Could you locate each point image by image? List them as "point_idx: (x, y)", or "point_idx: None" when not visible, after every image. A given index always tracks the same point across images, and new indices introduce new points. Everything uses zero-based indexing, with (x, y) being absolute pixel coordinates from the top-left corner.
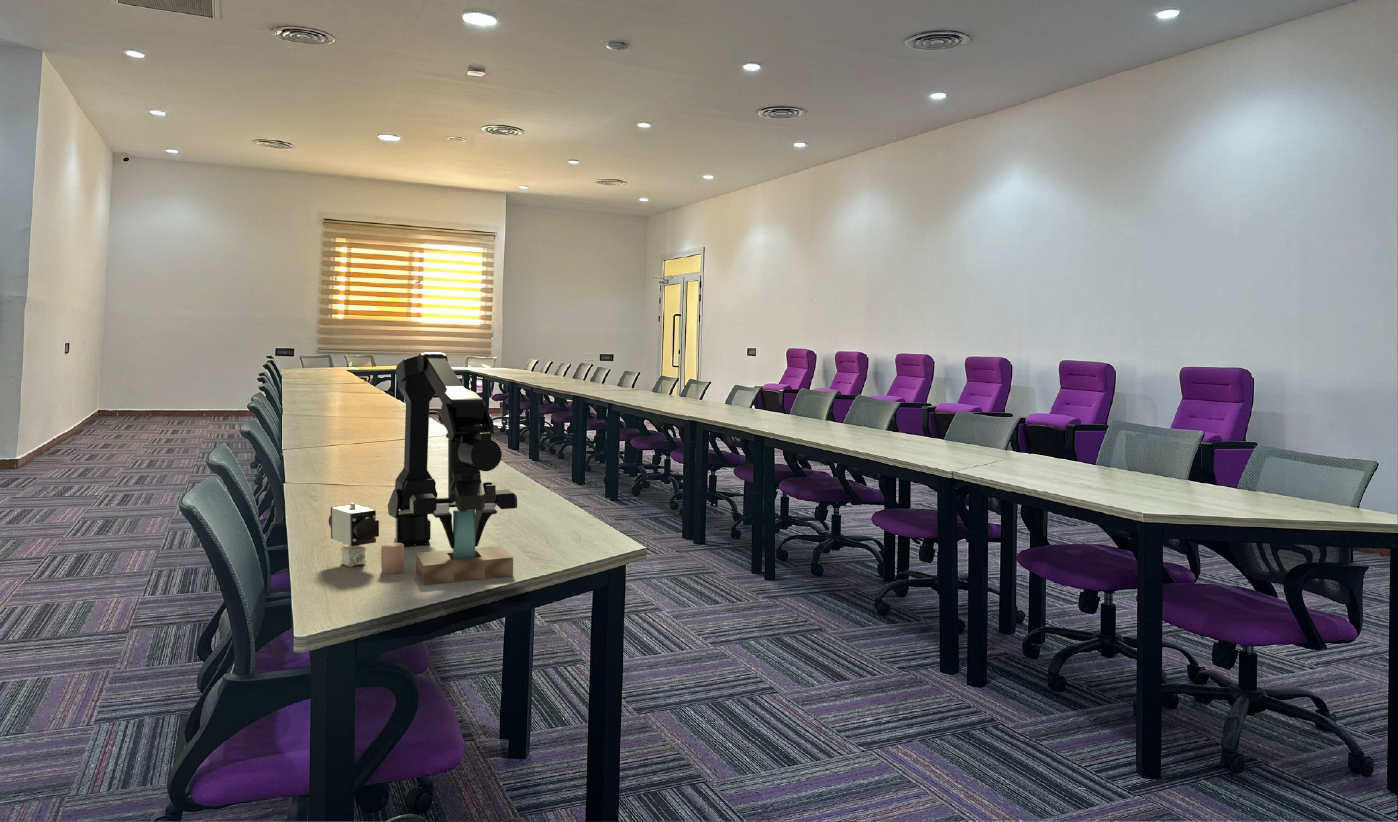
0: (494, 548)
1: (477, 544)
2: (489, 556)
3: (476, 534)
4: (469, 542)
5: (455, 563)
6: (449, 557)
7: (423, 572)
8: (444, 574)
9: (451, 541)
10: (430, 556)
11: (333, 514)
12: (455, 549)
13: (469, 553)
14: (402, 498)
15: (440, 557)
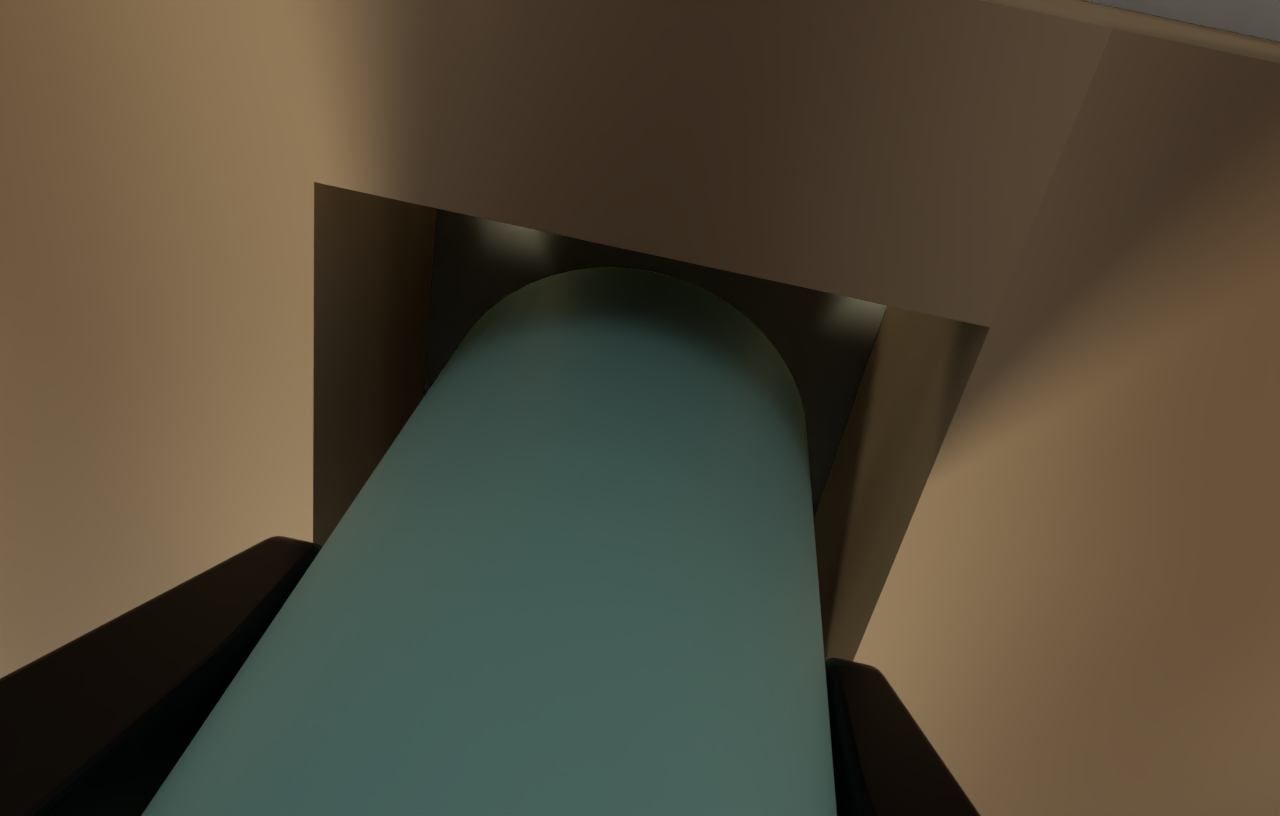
0: (5, 620)
1: (259, 554)
2: (149, 149)
3: (126, 763)
4: (472, 529)
5: (1063, 15)
6: (917, 523)
7: None
8: (1224, 38)
9: (924, 798)
10: (1158, 745)
11: None
12: (816, 589)
13: (547, 365)
14: None
15: (1062, 604)
